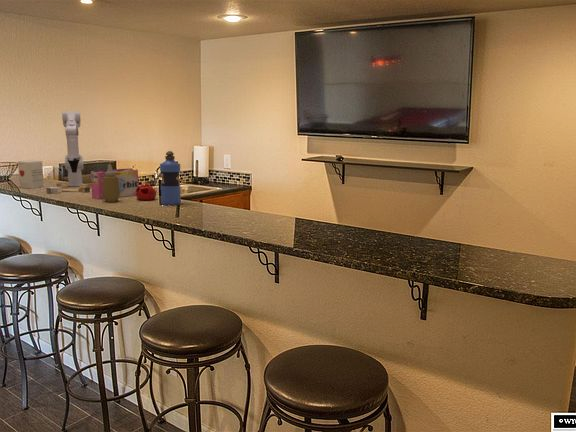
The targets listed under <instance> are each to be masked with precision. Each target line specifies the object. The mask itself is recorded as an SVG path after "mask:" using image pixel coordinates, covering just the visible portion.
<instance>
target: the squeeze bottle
mask: <svg viewBox="0 0 576 432" xmlns="http://www.w3.org/2000/svg"><path fill="white" fill-rule="evenodd" d="M106 170H107V172H105V175H106V176H104V177H103V191H102V195H103V197H104V199H103V200H104V202H107V203H115V202H118V201H119V198H120V197H119V196H120V190H119V184H118V177H117V176H114V175H115V172H113V170H114V169H113V167H112V164H111V163H109V164H108V165H107V169H106Z"/></svg>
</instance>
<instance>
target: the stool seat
mask: <svg viewBox="0 0 576 432" xmlns="http://www.w3.org/2000/svg"><path fill="white" fill-rule="evenodd" d="M68 184H69V183H68ZM68 184H66V183H62V182H60V183H56V187H58V186H61V187H62V192H65V193H70V192H71V193H72V192H73V193H75V192H80V193H85V194H86V193H87V194H88V193H90V192H91V190H92V186H91V182H89V183H84V184H82V186H70V187H69V186H68Z"/></svg>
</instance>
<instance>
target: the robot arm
mask: <svg viewBox="0 0 576 432" xmlns="http://www.w3.org/2000/svg"><path fill="white" fill-rule="evenodd" d="M61 116H62V117H61V118H62V125H63V127H64V130H65V132H64V133H65V137H66V139H65V140H66V149H67V155H65V157H64V168H65V170H67V176H68V178H67V179H68V187H82V184H85V183H83V174H82V171H83V170H84V160H83V159H84V158H83V156H82V155H81V154H80V152H79V151H80V150H79V128H81V112H80V111H67V110H65V111H64V110H63V111H62V112H61Z"/></svg>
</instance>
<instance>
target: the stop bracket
mask: <svg viewBox="0 0 576 432" xmlns="http://www.w3.org/2000/svg"><path fill="white" fill-rule="evenodd" d="M51 194H54V195H58V194H59V195H60V194H61V192H58V191H57V188H52V193H51Z"/></svg>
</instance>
